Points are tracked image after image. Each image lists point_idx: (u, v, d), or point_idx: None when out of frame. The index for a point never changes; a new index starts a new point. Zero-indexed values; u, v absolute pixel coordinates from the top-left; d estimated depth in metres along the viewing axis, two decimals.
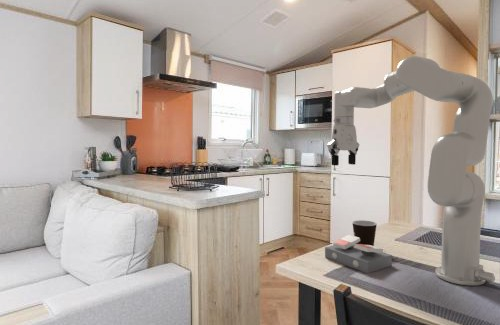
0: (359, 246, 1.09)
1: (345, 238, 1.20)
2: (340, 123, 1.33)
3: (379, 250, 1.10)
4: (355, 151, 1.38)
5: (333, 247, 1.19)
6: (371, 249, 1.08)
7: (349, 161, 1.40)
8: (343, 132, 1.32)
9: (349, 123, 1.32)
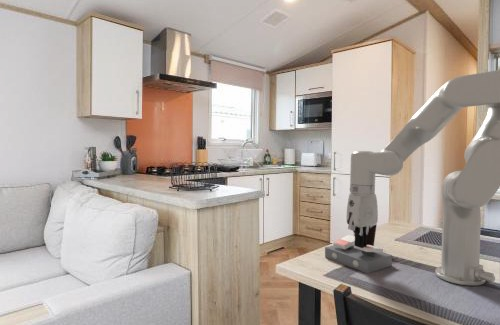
0: None
1: (345, 238, 1.20)
2: (358, 193, 1.05)
3: (379, 250, 1.10)
4: (368, 230, 1.09)
5: (333, 247, 1.19)
6: (371, 249, 1.08)
7: None
8: (361, 205, 1.04)
9: (369, 193, 1.05)
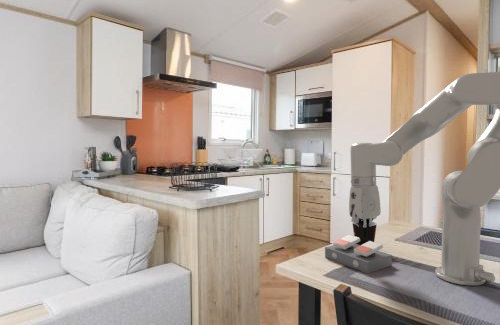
0: (358, 251, 1.09)
1: (345, 238, 1.20)
2: (359, 185, 1.05)
3: (379, 248, 1.10)
4: (371, 222, 1.08)
5: (333, 247, 1.19)
6: (370, 251, 1.08)
7: None
8: (363, 196, 1.04)
9: (371, 185, 1.05)
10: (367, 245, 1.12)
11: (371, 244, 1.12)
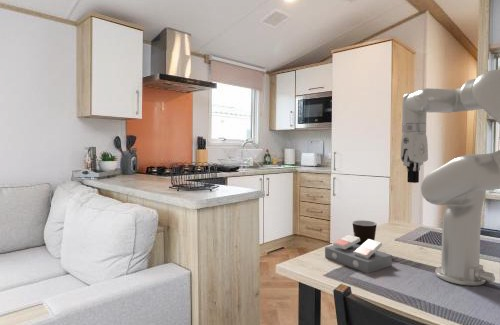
0: (358, 254, 1.09)
1: (345, 238, 1.20)
2: (412, 131, 1.14)
3: (378, 246, 1.10)
4: (419, 167, 1.17)
5: (333, 247, 1.19)
6: (370, 253, 1.08)
7: None
8: (416, 141, 1.13)
9: (423, 131, 1.13)
10: (366, 245, 1.12)
11: (370, 243, 1.12)
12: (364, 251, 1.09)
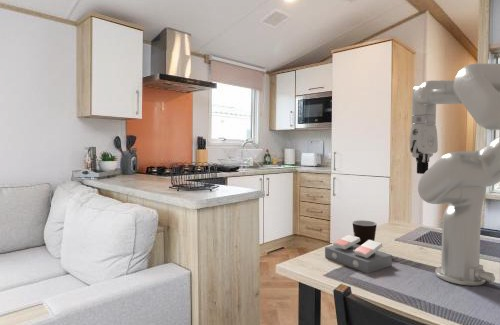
0: (358, 253, 1.09)
1: (345, 238, 1.20)
2: (421, 122, 1.16)
3: (378, 247, 1.10)
4: (429, 158, 1.19)
5: (333, 247, 1.19)
6: (370, 252, 1.08)
7: None
8: (425, 132, 1.15)
9: (432, 122, 1.15)
10: (367, 245, 1.12)
11: (371, 243, 1.12)
12: (364, 250, 1.09)
